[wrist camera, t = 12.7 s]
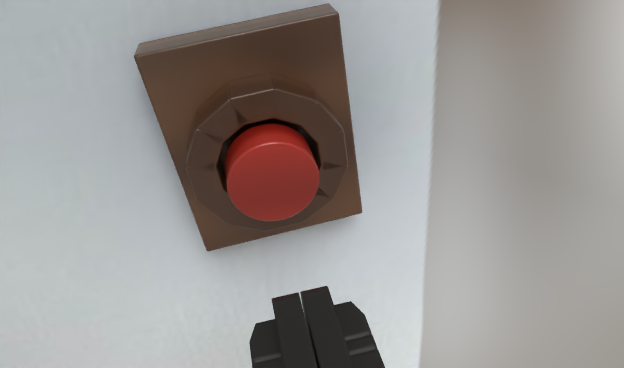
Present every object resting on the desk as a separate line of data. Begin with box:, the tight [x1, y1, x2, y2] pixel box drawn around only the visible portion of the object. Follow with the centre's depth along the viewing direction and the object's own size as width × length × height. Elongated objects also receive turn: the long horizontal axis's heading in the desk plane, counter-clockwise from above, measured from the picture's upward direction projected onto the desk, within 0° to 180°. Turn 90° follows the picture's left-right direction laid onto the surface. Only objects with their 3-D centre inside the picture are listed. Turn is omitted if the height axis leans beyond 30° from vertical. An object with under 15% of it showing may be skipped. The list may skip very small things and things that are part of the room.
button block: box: [134, 4, 362, 251], centre depth 21 cm, size 10×8×4 cm
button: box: [225, 123, 320, 221], centre depth 19 cm, size 4×4×2 cm
